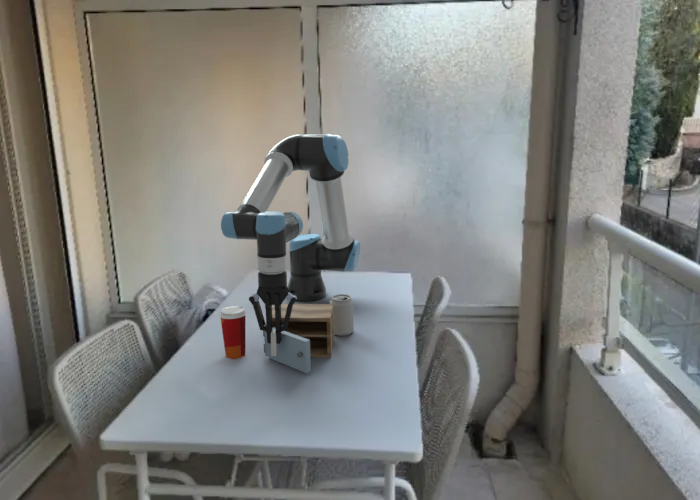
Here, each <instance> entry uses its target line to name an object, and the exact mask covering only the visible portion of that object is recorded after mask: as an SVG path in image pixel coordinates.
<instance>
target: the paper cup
mask: <svg viewBox="0 0 700 500" xmlns="http://www.w3.org/2000/svg"><path fill="white" fill-rule="evenodd" d="M246 315H247V311H246V309H245V307H243V306H240V305H231V306H226V307H223V308H221V310H220V313H219V315H218V316H219V318H220V324H221V330H222V339H223V345H224V353H225V357H226V358H227V359H229V360H238V359H242V358H244V357H245V355H246Z"/></svg>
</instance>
